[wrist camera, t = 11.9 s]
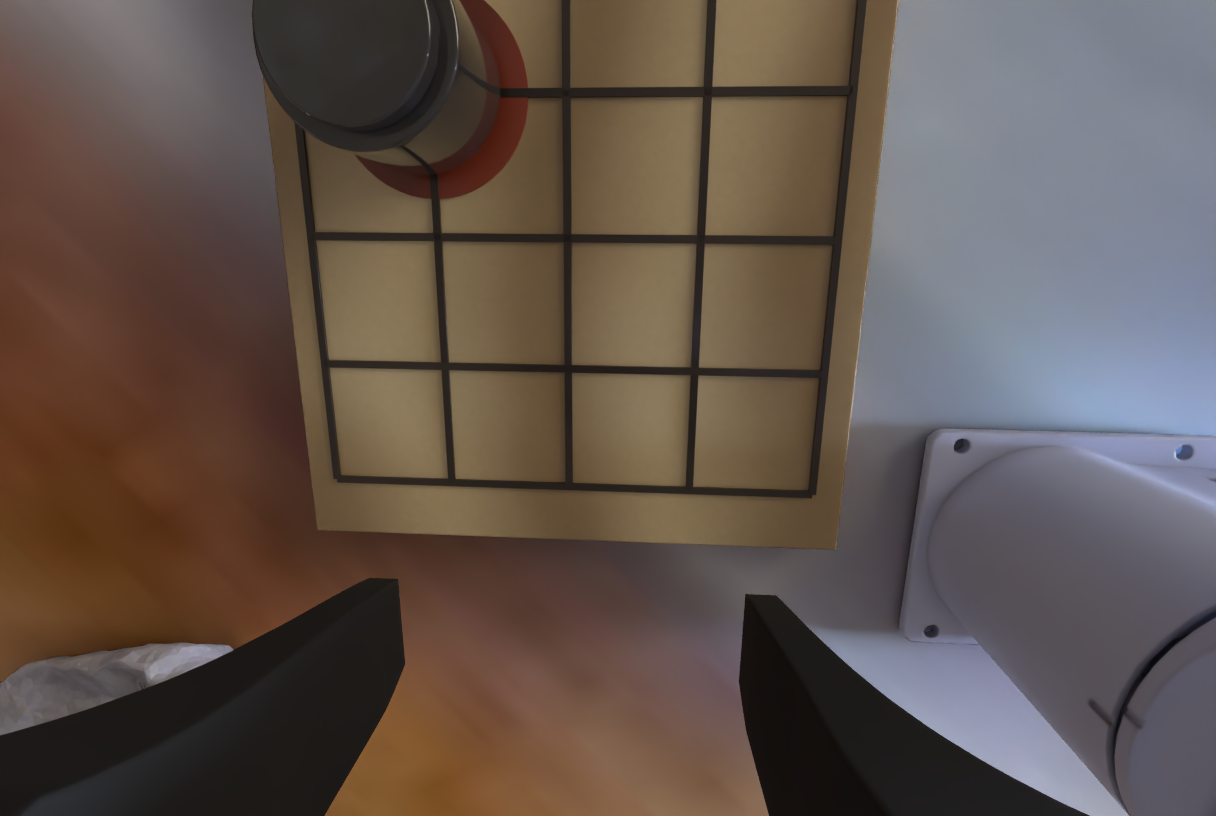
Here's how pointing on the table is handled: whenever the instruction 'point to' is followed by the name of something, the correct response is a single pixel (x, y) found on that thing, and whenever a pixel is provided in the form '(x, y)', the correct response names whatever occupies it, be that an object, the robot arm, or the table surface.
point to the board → (602, 282)
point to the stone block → (92, 680)
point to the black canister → (382, 77)
